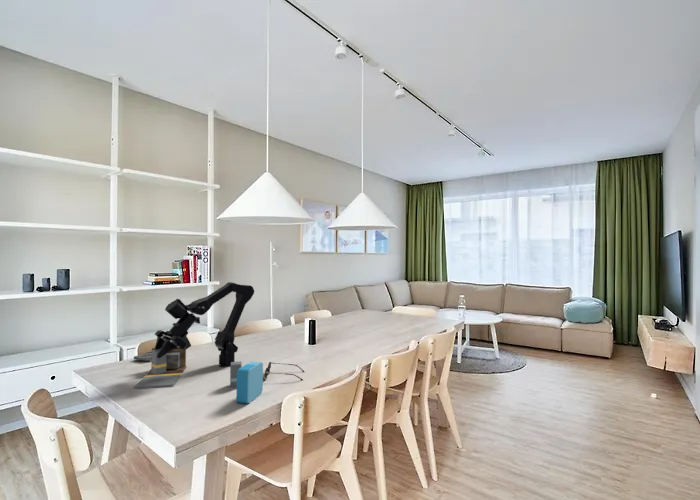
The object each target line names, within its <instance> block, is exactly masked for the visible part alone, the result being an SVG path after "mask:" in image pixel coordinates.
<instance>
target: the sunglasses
mask: <svg viewBox="0 0 700 500" xmlns="http://www.w3.org/2000/svg"><path fill="white" fill-rule="evenodd" d="M272 364H273V365H275V364H277V365H283V363H282V362H281V363H279V362H271V361H269V363H268V365H267V367H266V368H265V370H264V377H265V381H266V380H267V379H268V375H270V374H276V375H287V376H288V375H290V376H295V377H296V378H298V379H300V381H304V379H303V378H302V377H300V376H298V375H296V374H294V373H286V372H285V373H283V372H272V371H271V368H272ZM284 365H285V366H295V367H297V368H299V369H300V370H301V372H302V373H305V371H304V370H303V368H301V367H300V366H299V365H298V364H292V363H284ZM270 371H271V372H270Z"/></svg>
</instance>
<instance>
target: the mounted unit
mask: <svg viewBox="0 0 700 500" xmlns="http://www.w3.org/2000/svg"><path fill="white" fill-rule="evenodd" d="M154 348H155V347H152V348H151V351H152V350H154ZM178 348H179V347H178ZM150 366H151V368H150V369H149V370H148V372H147V375H155V374H154V373H152V364H151V365H150ZM186 368H187V349H186V350H183V349H180V348H179V349H173V350H171V351H169V352H168V353H166V372H164V373H160V374H175V373H181V374H182V373H184V371H185V370H186Z"/></svg>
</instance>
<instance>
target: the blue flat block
mask: <svg viewBox="0 0 700 500" xmlns="http://www.w3.org/2000/svg"><path fill="white" fill-rule="evenodd" d="M263 378H264V364H263V362H261V361H249V362H248V363H246V364H244V365H243V366H242V367H241V368H239V369H238V371H237V388H236V397H235V398H236V402H237V403H239V404H248V403H249V404H251V403H252V402H253V401H254V400H255V399H256V397H257V396H258V397H259V396H261V394H262V393H263V389H264V388H263V386H264V385H263V384H264V379H263ZM258 397H257V398H258ZM252 400H253V401H252ZM251 401H252V402H251ZM250 402H251V403H250Z"/></svg>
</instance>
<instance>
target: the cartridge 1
mask: <svg viewBox="0 0 700 500" xmlns="http://www.w3.org/2000/svg"><path fill="white" fill-rule="evenodd" d="M160 350H161V349H156V350H152V349H151V352H152V361H151V365H152V373H154V374H153V375H158V374H160V373H164V372H166V354H165V355H163V356H162V357H161V358H158V357H157V356H158V354H159V352H160Z"/></svg>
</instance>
